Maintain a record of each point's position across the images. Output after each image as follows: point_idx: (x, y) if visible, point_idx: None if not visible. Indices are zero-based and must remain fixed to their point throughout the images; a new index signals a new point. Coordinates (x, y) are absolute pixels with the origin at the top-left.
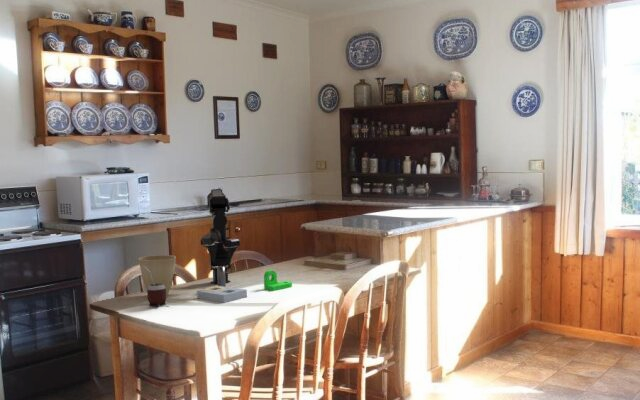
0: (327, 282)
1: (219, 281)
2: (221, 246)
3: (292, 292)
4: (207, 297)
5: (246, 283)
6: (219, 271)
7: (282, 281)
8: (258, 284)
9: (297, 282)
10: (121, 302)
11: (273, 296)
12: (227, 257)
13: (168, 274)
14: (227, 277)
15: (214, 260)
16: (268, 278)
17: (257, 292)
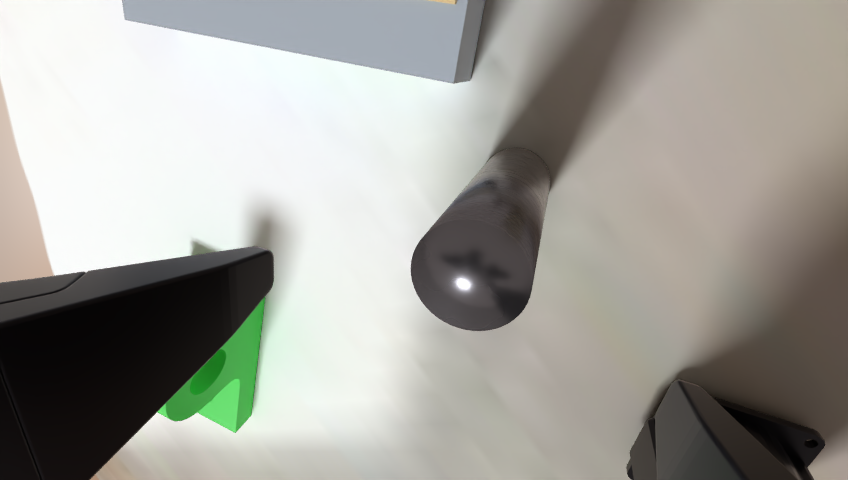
0: (148, 466)
1: (501, 168)
2: None
3: (95, 248)
4: None
5: (487, 445)
6: (470, 201)
7: (236, 416)
8: (391, 419)
9: (245, 468)
10: None
11: (83, 118)
12: (148, 267)
13: None
14: (636, 476)
15: (659, 421)
16: None
17: (233, 197)
